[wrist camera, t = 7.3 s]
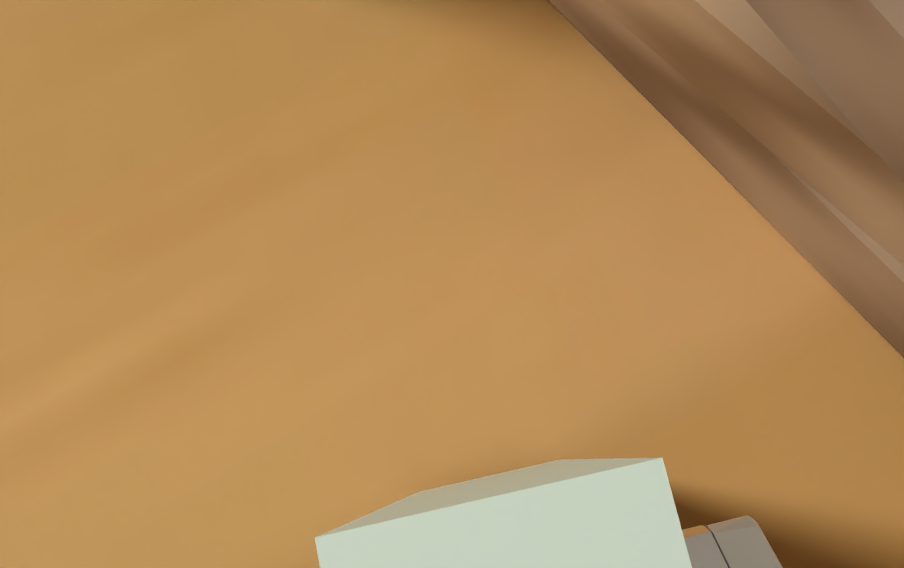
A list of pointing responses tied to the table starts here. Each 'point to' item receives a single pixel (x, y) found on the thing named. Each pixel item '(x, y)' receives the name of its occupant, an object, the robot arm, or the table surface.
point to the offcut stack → (785, 119)
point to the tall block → (524, 522)
